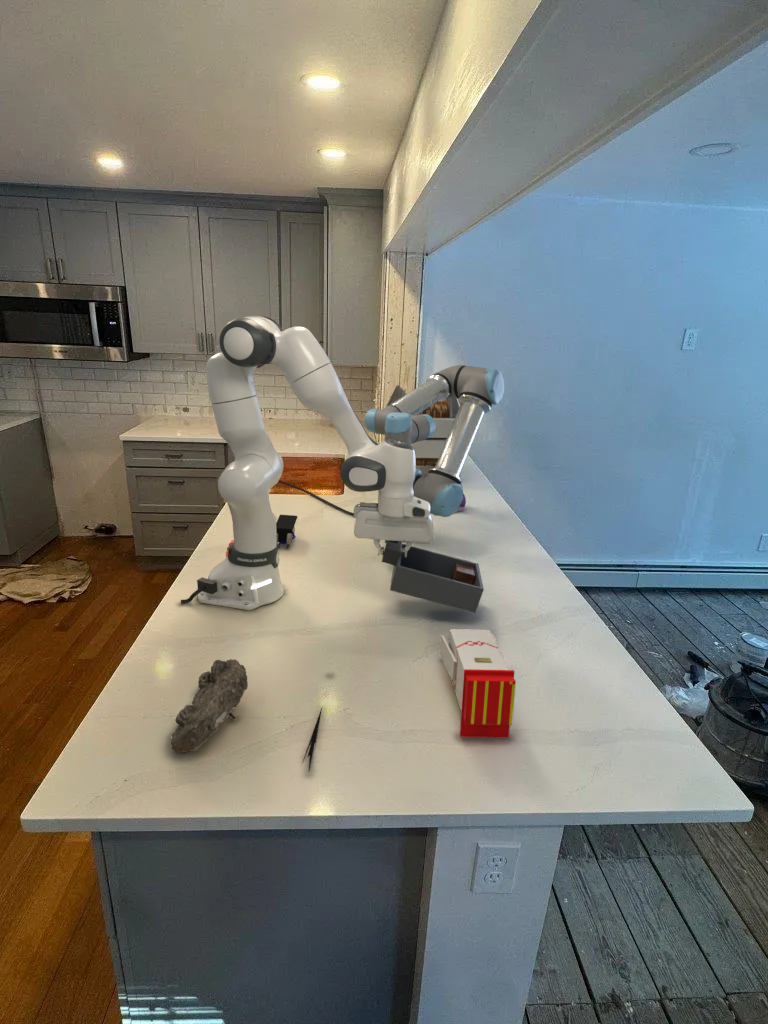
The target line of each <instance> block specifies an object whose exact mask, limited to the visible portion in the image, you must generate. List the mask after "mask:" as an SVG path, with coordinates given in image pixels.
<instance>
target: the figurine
mask: <svg viewBox="0 0 768 1024" xmlns="http://www.w3.org/2000/svg"><path fill="white" fill-rule="evenodd" d="M461 477H462V473H460V475H459V478H460V479H461ZM460 486H462V488H463V489H464V487H463V484H462V483H461V485H460ZM462 496H463V499H462V502H461V504H460V506H459V508H458V509H457V510H456V512H455V513H457V512H463V511H464V510H465V507H466V503H467V500H466V496H465V493H464V492H463V495H462Z"/></svg>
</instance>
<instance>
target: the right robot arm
mask: <svg viewBox="0 0 768 1024" xmlns="http://www.w3.org/2000/svg"><path fill="white" fill-rule="evenodd" d="M504 392H505V381H504V376H503V374H502V372H501V371H500V370H499V369H495V368H491V367H480V366H472V365H464V364H457V365H452V366H449V367H446V368H444V369H441V370H439V371H436V372H434V373H433V374H432V375H430V376H429V377H427V379H426V381H425V382H424V383H422V384H421V385H419V386H418V387H416V388H415V389H413V390H411V391H409V392H408V393H406V395H405V396H403V397H401V398H400V399H398V400H397V401H395V402H393V403H392V404H390V405H388V406H387V407H386V406H385V407H383V408H381V409H380V408H378V407H377V408H370V409H368V411H366V414H365V416H364V426H365V430H366V431H368V432H370V433H374V434H376V435H383V436H384V439H385V440H386V439H398V440H402V441H405V442H407V443H409V444H410V445H411V444H412V443H415V442H419V441H423V440H426V439H428V438H430V437H432V436H433V435H434V433H435V430H436V424H435V421H434V419H433V418H432V417H431V416H430V415H427V414H423V415H422V414H420V415H417V414H419V413H420V412H422V411H423V410H425V409H426V408H428V407H430V406H431V405H433V404H434V403H436V402H437V401H444V400H445V399H448V398H456V399H457V402H458V404H459V409H458V412H457V414H456V417H455V419H454V422H453V424H452V427H451V429H450V432H449V434H448V437H447V439H446V441H445V444H444V446H443V449H442V451H441V454H440V456H439V459H438V461H437V464H436V466H433V467H432V468H429V470H428V471H427V474H426V476H425V475H422V470H421V469H420V468H417V467H416V471H415V480H414V482H413V490H414V497H417V498H419V499H422V500H424V501H427V502H429V504H430V507H431V511H430V514H431V515H432V516H437V517H442V518H447V517H450V516H452V515H453V514H455V513H457V512H456V510H457V509H458V508H459V506H460V504H461V502H462V499H463V496H462V495H463V493H464V487H463V485H462V486H460V485H461V484H462V479H461V477H460V478H459V475H460V473H461V472H462V470H463V468H464V465H465V462H466V460H467V457H468V455H469V452H470V450H471V447H472V445H473V442H474V440H475V437H476V434H477V432H478V430H479V428H480V424H481V421H482V420H483V417H484V415H485V414H487V413H490V411H491V409H492V406H496V405H499V404H501V402H502V400H503V397H504ZM461 474H462V473H461ZM277 483H279V484H283V485H285V486H288V487H291V488H293V489H296V490H299V491H301V492H304V494H307V495H309V496H311V497H313V498H316V499H317V500H319V501H321V502H323V503H324V504H327V505H328V506H330V507H332V508H334V509H336V510H338V511H340V512H342V513H345V514H346V515H350V516H353V517H354V512H351V511H349V510H347V509H344V508H342V507H340V506H337V505H336V504H334V503H332V502H330V501H328V500H327V499H324V498H322V497H321V496H318V495H316V494H315V493H313V492H310V491H308V490H306V489H304V488H302V487H300V486H298V485H295V484H292V483H289V482H286V481H283V480H279V481H278V482H277ZM462 487H463V488H462ZM389 542H393V543H397V544H398V541H389Z"/></svg>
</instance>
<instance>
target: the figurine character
mask: <svg viewBox="0 0 768 1024" xmlns="http://www.w3.org/2000/svg"><path fill="white" fill-rule="evenodd" d="M297 520H298V515H291V514H279V516H278V518H277V519H276V532H277V543H278V548H279V549H281V545H283V546H285V548H286V549H289V548H290V545H292V543H293V540H295V539H296V534H295V532H296V528H295V525H296V522H297Z"/></svg>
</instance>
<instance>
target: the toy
mask: <svg viewBox="0 0 768 1024" xmlns="http://www.w3.org/2000/svg"><path fill="white" fill-rule="evenodd" d="M438 654H439V656H440V658H441V660H442V662H443V665H444V666H445V668H446V671H447V673H448V675H449V677H450V681H451V683H452V685H453V689H454V690H455V695H456V698H457V702H458V705H459V708H460V726H459V737H460V738H509V737H510V728H511V727H510V726H512V725H513V717H514V706H515V705H514V704H515V693H516V684H517V683H516V679H515V670H514V669H510V667H509V666H508V663H507V662H506V660H505V658H504V655H503V654H502V652H501V650H500V648H499V644H498V642H497V638H496V635H495V634H492V632H491V631H490V629H467V628H466V629H465V628H463V629H461V628H460V629H459V628H450V629H449V631H448V641H447V639H446V638H445V636H444V634H443V635H442V634H441V635H440V641H439V651H438Z"/></svg>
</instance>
